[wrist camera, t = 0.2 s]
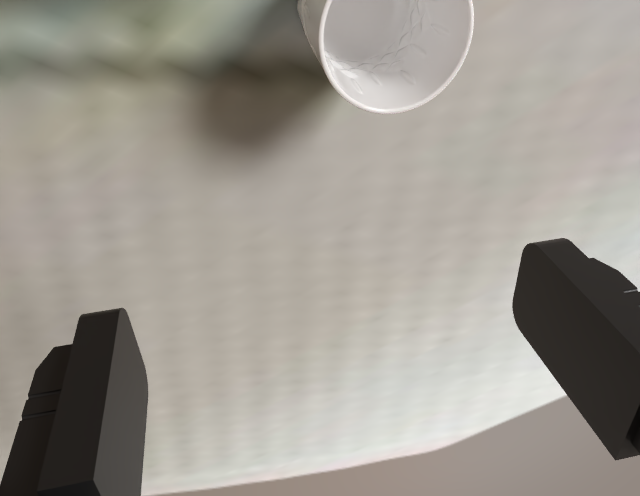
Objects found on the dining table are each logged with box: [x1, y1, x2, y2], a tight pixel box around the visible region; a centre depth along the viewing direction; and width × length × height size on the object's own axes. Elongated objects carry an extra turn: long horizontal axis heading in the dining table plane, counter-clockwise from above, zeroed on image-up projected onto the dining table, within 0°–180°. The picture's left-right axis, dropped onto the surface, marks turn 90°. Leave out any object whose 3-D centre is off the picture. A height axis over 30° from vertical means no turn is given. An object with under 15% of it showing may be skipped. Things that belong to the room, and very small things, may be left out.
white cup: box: [297, 0, 474, 114], centre depth 31 cm, size 8×8×10 cm
